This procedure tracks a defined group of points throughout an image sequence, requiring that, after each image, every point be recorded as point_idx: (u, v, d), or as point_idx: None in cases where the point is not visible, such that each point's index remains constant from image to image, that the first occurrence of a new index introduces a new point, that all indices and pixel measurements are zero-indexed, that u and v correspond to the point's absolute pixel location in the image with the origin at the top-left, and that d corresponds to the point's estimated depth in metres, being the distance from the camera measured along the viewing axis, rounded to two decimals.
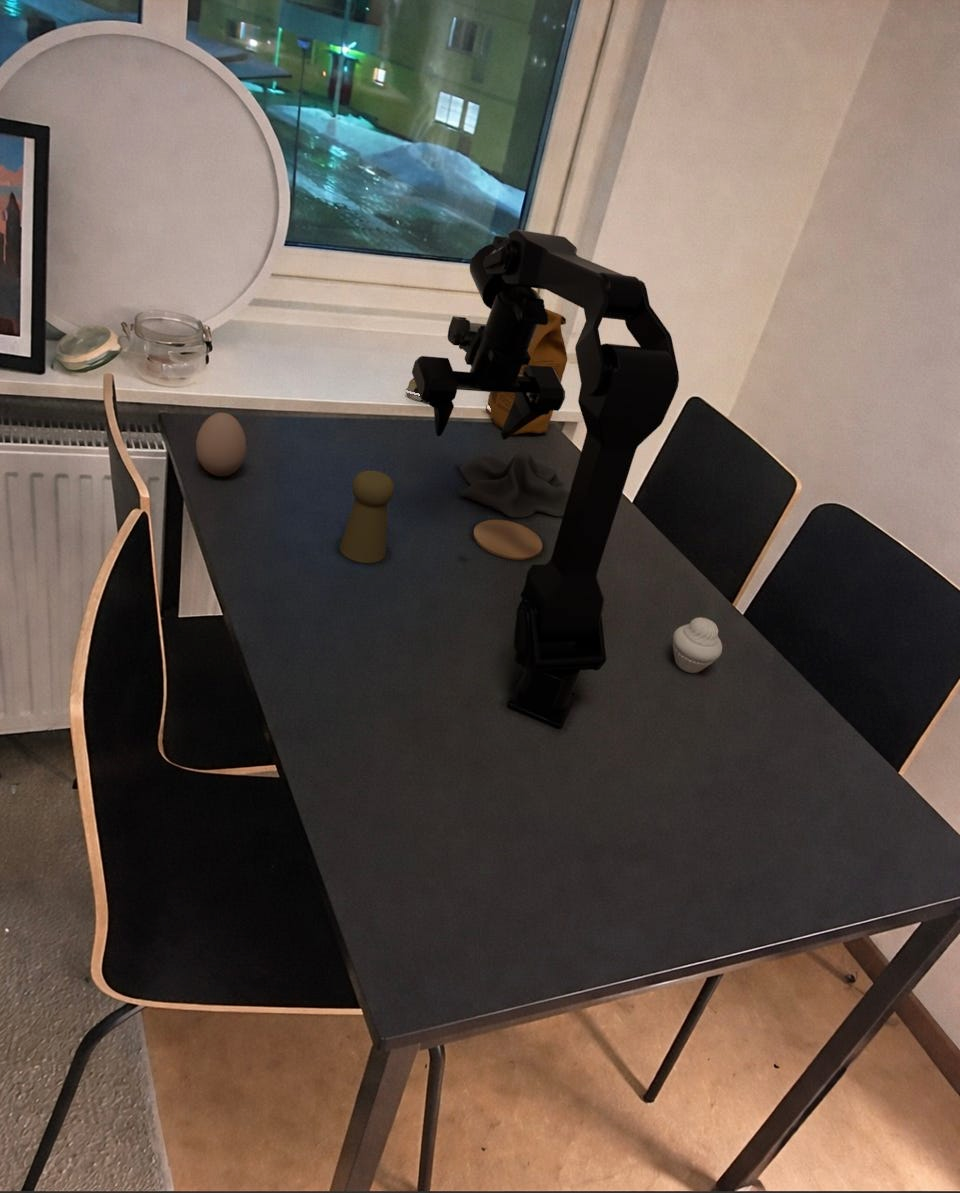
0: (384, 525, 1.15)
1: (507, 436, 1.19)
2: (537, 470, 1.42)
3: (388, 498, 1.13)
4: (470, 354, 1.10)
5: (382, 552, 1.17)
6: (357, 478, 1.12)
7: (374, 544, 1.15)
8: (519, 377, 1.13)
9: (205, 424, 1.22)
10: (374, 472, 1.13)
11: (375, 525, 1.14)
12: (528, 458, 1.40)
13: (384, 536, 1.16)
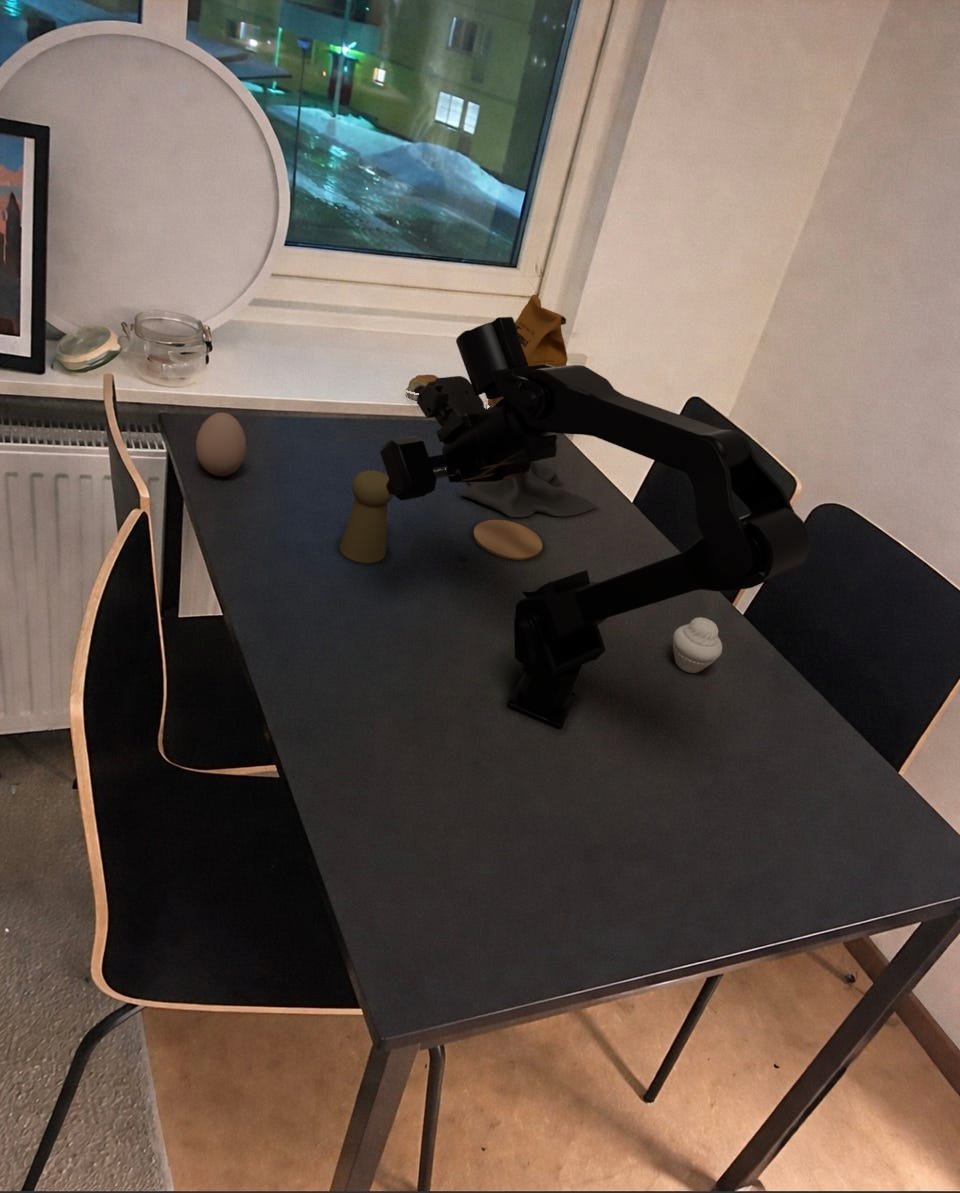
0: (384, 525, 1.15)
1: None
2: (537, 470, 1.42)
3: (388, 498, 1.13)
4: (447, 436, 0.98)
5: (382, 552, 1.17)
6: (357, 478, 1.12)
7: (374, 544, 1.15)
8: None
9: (205, 424, 1.22)
10: (374, 472, 1.13)
11: (375, 525, 1.14)
12: None
13: (384, 536, 1.16)
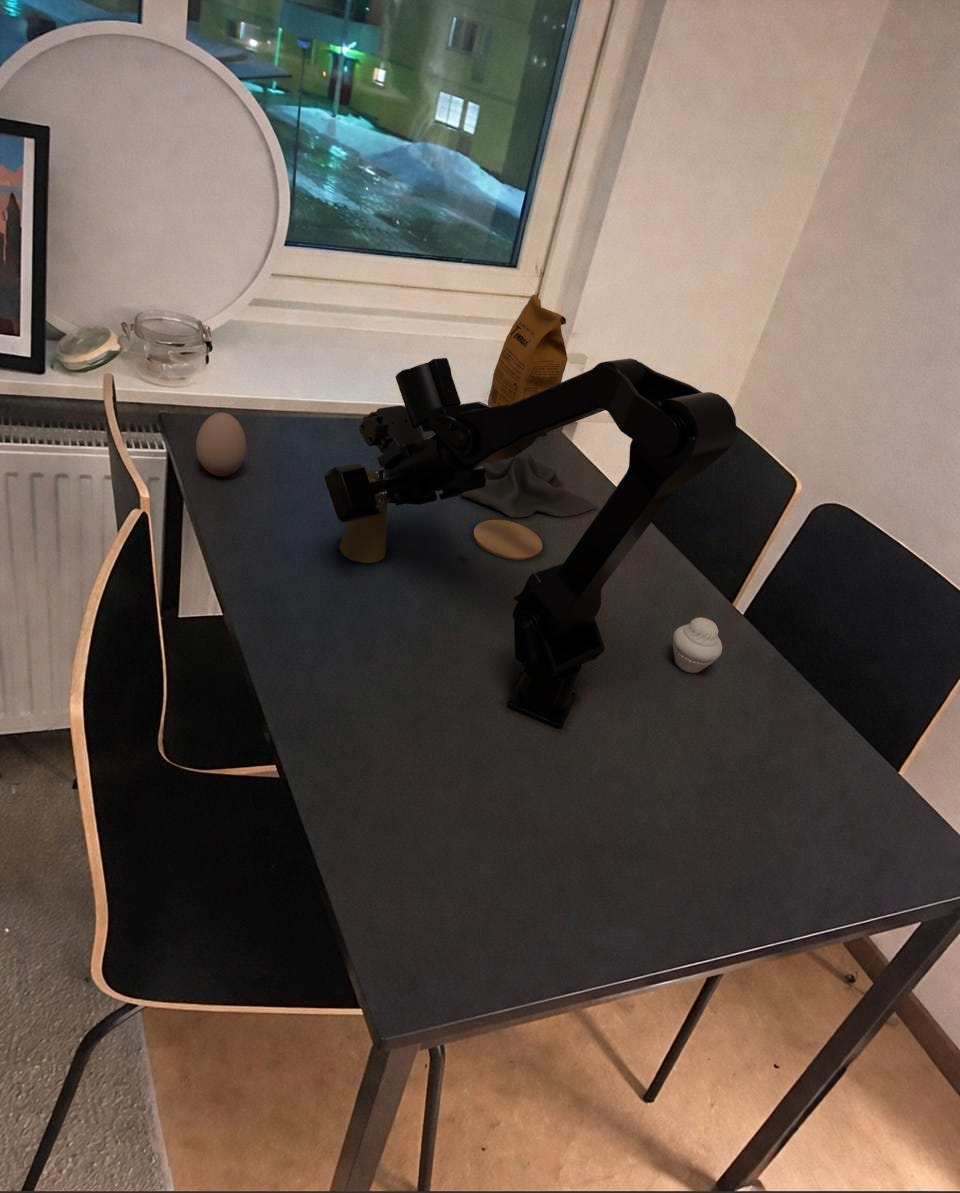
0: (384, 525, 1.15)
1: None
2: (537, 470, 1.42)
3: None
4: (387, 463, 1.05)
5: (382, 552, 1.17)
6: None
7: (374, 544, 1.15)
8: None
9: (205, 424, 1.22)
10: (374, 472, 1.13)
11: (374, 525, 1.14)
12: (528, 458, 1.40)
13: (384, 536, 1.16)
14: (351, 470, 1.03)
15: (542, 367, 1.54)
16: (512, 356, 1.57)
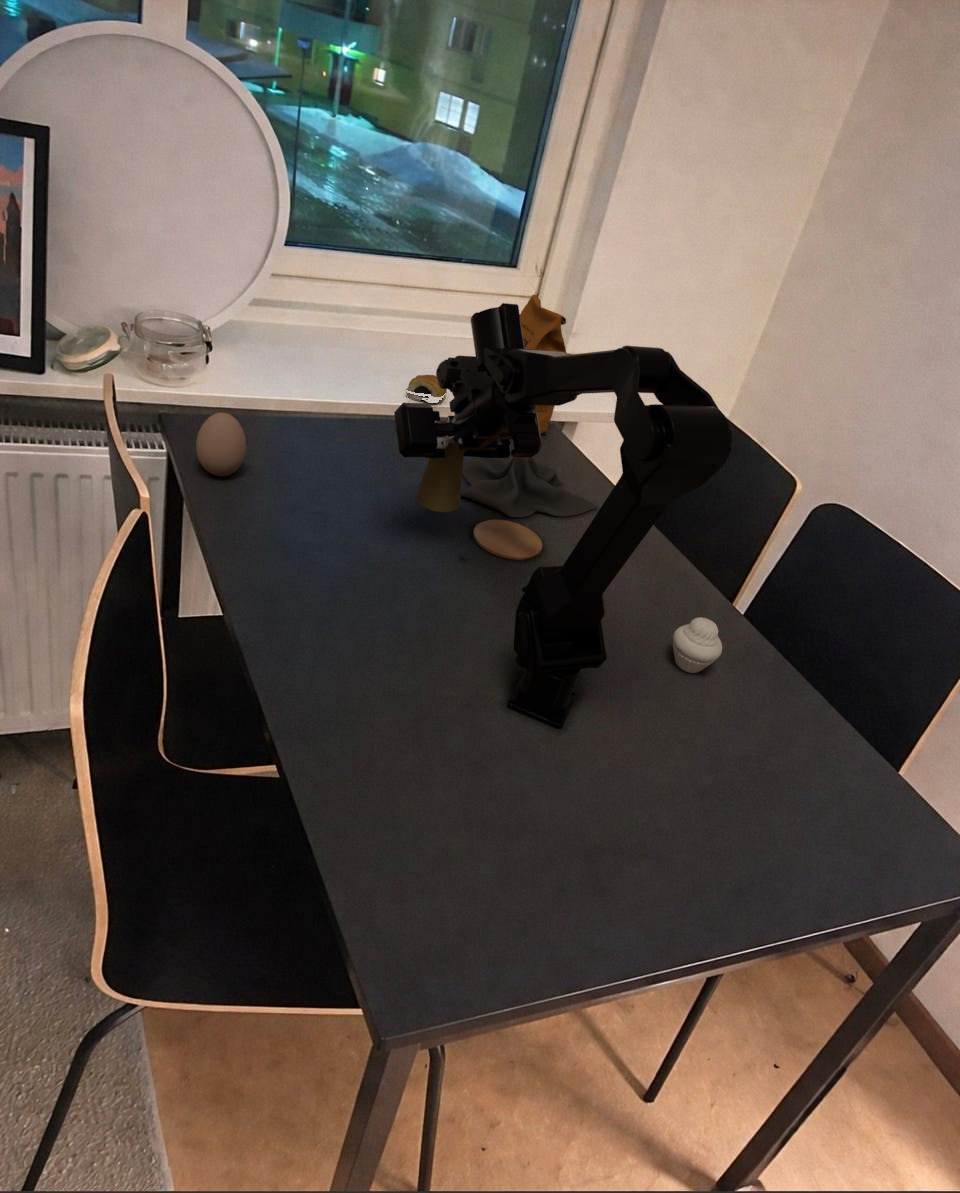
0: (457, 476, 1.18)
1: None
2: (537, 470, 1.42)
3: None
4: (455, 406, 1.09)
5: (453, 503, 1.20)
6: None
7: (445, 493, 1.19)
8: None
9: (205, 424, 1.22)
10: None
11: (447, 474, 1.17)
12: (528, 458, 1.40)
13: (457, 488, 1.19)
14: (418, 407, 1.08)
15: None
16: None
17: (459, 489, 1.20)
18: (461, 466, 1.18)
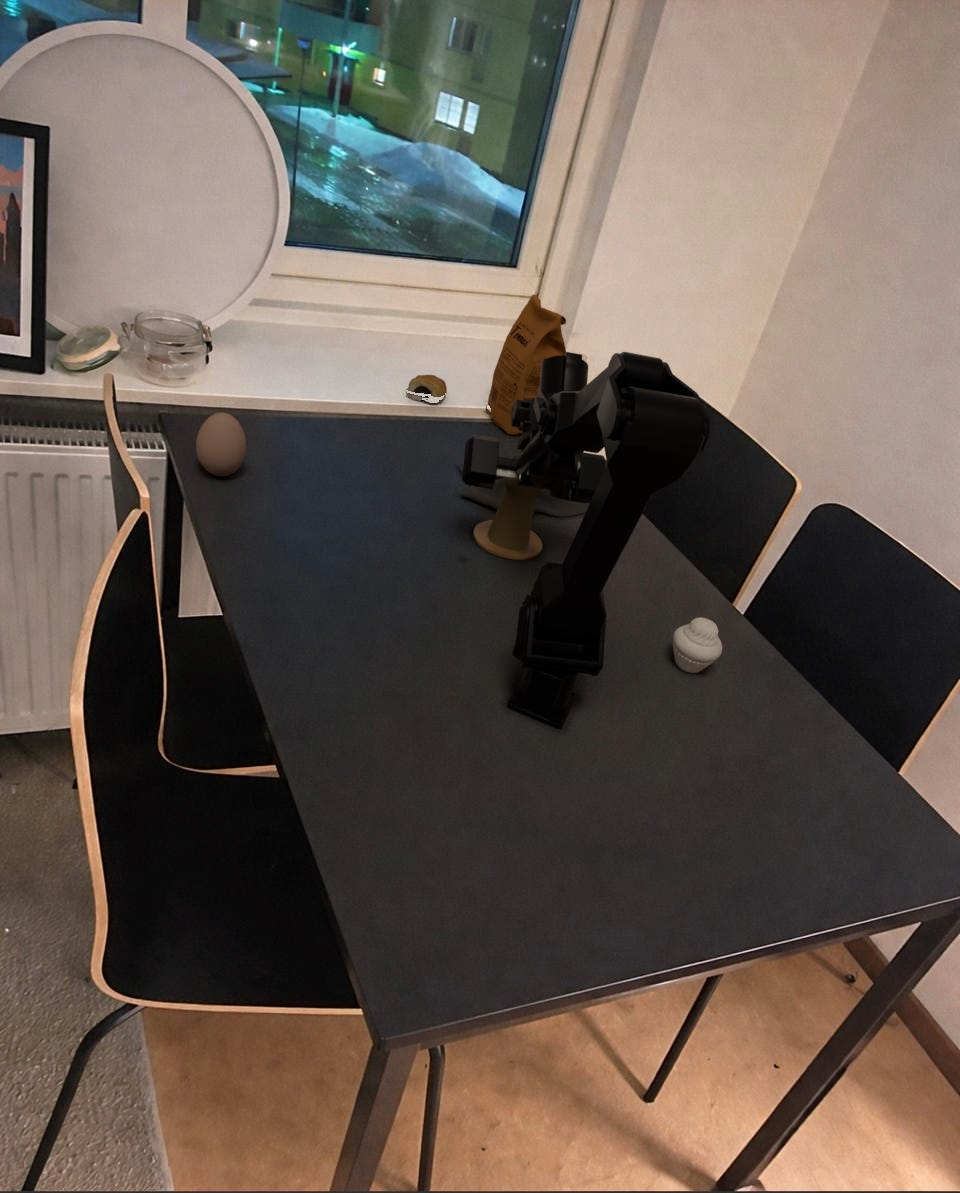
0: (525, 518, 1.24)
1: (552, 496, 1.26)
2: None
3: (529, 492, 1.22)
4: (521, 444, 1.15)
5: (519, 543, 1.26)
6: None
7: (511, 532, 1.25)
8: None
9: (205, 424, 1.22)
10: None
11: (514, 514, 1.24)
12: None
13: (524, 529, 1.25)
14: (485, 440, 1.15)
15: None
16: (512, 356, 1.57)
17: (526, 530, 1.26)
18: (530, 509, 1.24)
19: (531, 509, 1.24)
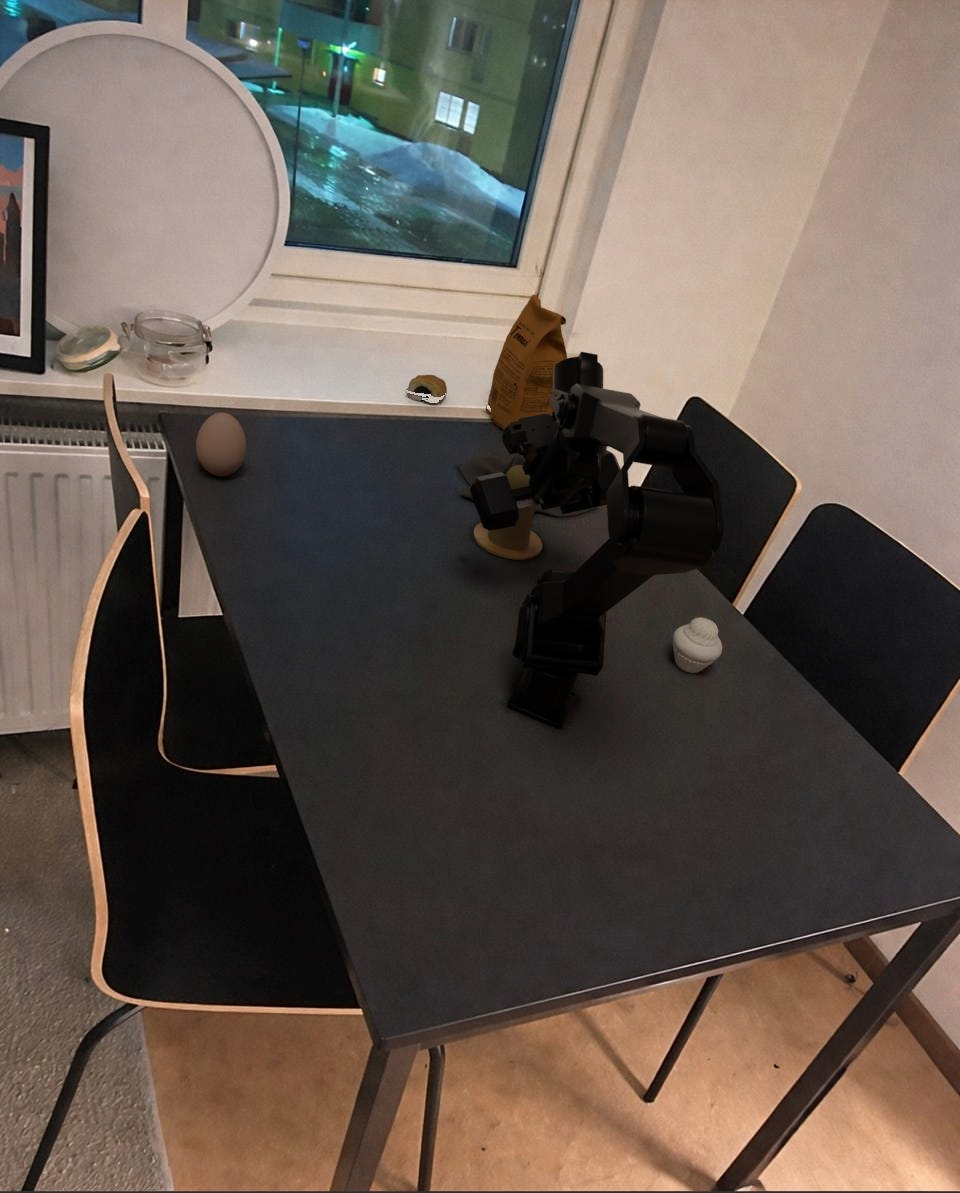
0: (525, 518, 1.24)
1: None
2: None
3: None
4: (528, 468, 1.06)
5: (519, 543, 1.26)
6: (511, 467, 1.23)
7: (511, 532, 1.25)
8: None
9: (205, 424, 1.22)
10: None
11: None
12: None
13: (524, 529, 1.25)
14: (491, 478, 1.06)
15: (542, 367, 1.54)
16: (512, 356, 1.57)
17: (526, 530, 1.26)
18: (530, 509, 1.24)
19: (531, 509, 1.24)
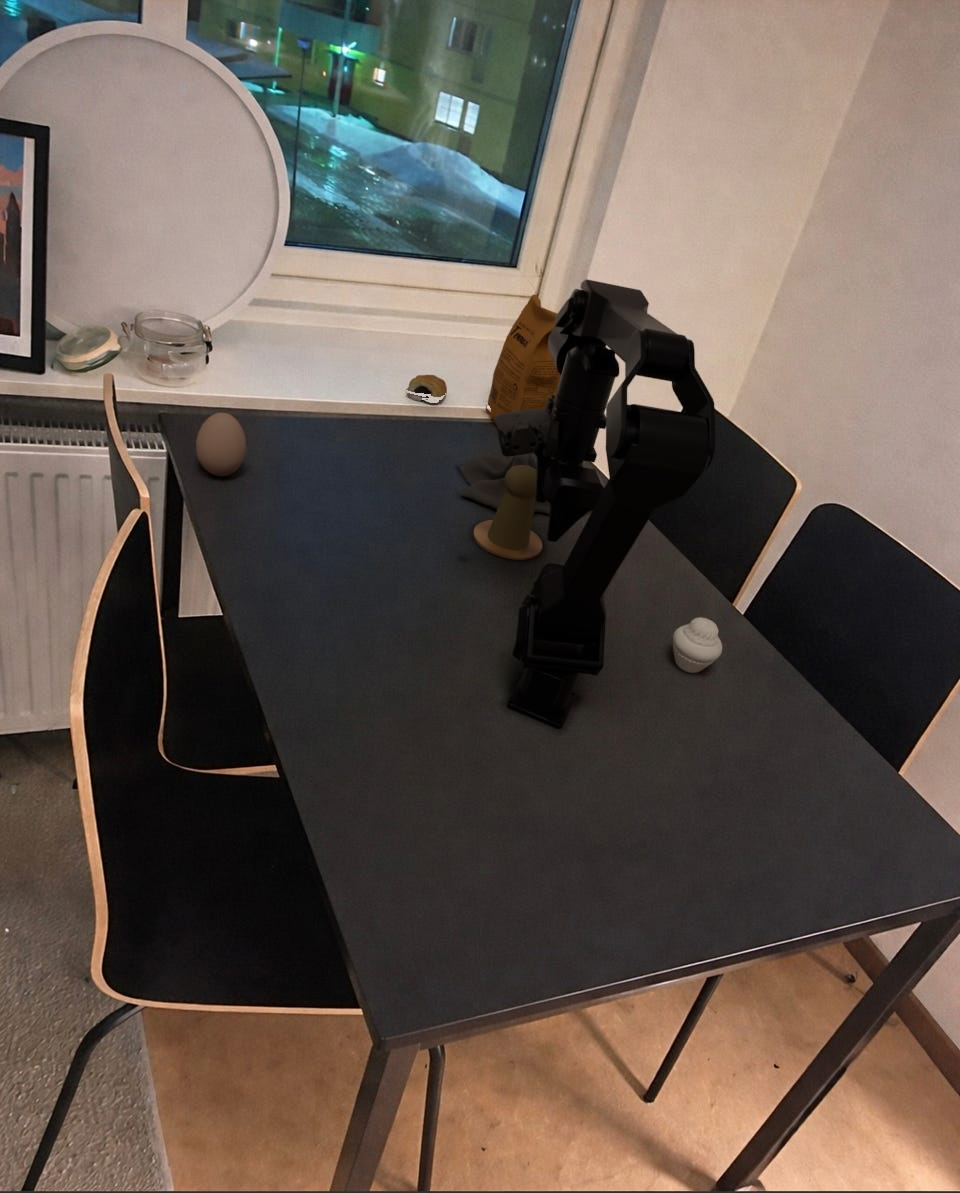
0: (525, 518, 1.24)
1: None
2: None
3: (529, 492, 1.22)
4: (556, 445, 0.99)
5: (519, 543, 1.26)
6: (511, 467, 1.23)
7: (511, 532, 1.25)
8: None
9: (205, 424, 1.22)
10: (529, 467, 1.23)
11: (514, 514, 1.24)
12: (528, 458, 1.40)
13: (524, 529, 1.25)
14: (559, 471, 0.96)
15: (542, 367, 1.54)
16: (512, 356, 1.57)
17: (526, 530, 1.26)
18: (530, 509, 1.24)
19: (531, 509, 1.24)
